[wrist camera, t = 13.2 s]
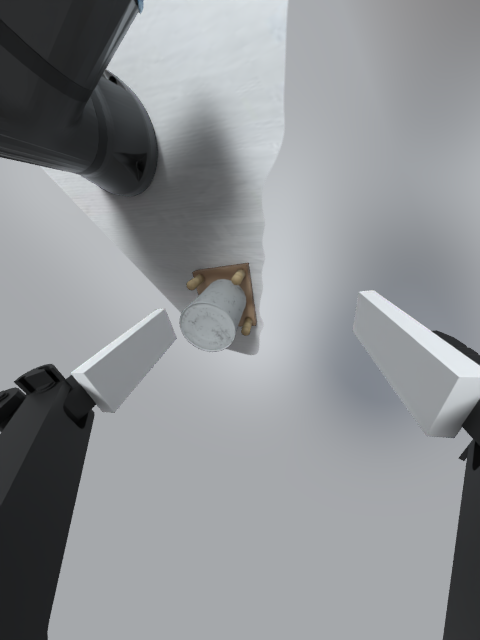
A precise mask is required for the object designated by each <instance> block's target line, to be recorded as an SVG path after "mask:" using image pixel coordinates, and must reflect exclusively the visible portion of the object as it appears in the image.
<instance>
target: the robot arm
mask: <svg viewBox="0 0 480 640" xmlns="http://www.w3.org/2000/svg"><path fill="white" fill-rule="evenodd" d="M142 10H143V0H0V157H2V158H7V159H12V160H16V161H21V162H26V163H30V164H35V165H39V166H44V167H48V168H53V169H58V170H62V171H67V172H72V173H76V174H79V175H81V176H82V177H84V178H86V179H87V180H89V181H91V182H92V183H94V184H96V185H98V186H99V187H100V188H102V189H104V190H106V191H108V192H110V193H113V194H117V195H123V196H134V195H138V194H140V193H142V192H143V191H144V190H145V189H146V188H147V187H148V186H149V185H150V183H151V181H152V179H153V177H154V174H155V170H156V165H157V144H156V138H155V133H154V130H153V126H152V123H151V121H150V118H149V116H148V114H147V112H146V110H145V108H144V106H143V104H142V103H141V101H140V100H139V98H138V97H137V96H136V94H135V93H134V92H133V91H132V90H131V89H130V88H129V87H128V86H127V85H126V84H125V83H123V82H122V81H121V80H120V79H119V78H118V77H117V76H115V75H114V74H113V73H111V72H109V71H108V70H106V68H107V66H108V64H109V62H110V60H111V59H112V57H113V55H114V53H115V52H116V50H117V48H118V46H119V45H120V43H121V41H122V39H123V38H124V36H125V34H126V32H127V31H128V29H129V27H130V25H131V24H132V22H133V20H134V18H135V17H136V15H137V13H138V12H139V13H140V14H141V12H142ZM353 332H354V334H355V335H356V336H357V338H358V339H359V341H360V342H361V344H362V345H363V347H364V348H365V349H366V351H367V352H368V354H369V355H370V357H371V358H372V359H373V361H374V362H375V364H376V365H377V366H378V368H379V369H380V371H381V372H382V374H383V375H384V376H385V377H386V379H387V381H388V382H389V384H390V385H391V386H392V388H393V389H394V391H395V392H396V394H397V395H398V397H399V398H400V399H401V401H402V402H403V404H404V405H405V407H406V408H407V409H408V411H409V412H410V414H411V415H412V417H413V418H414V419H415V421H416V422H417V424H418V425H419V426H420V428H421V429H422V431H423V432H424V433H425V435H426V436H432V437H446V438H455V436H456V435H457V434H458V432H459V431H460V429H461V428H462V427H463V428H464V429H465V430H466V431H467V433H468V434H469V435H470V436H471V437H472V438H473V440H472V441H471V443H470V444H469V445H468V446H467V448H466V449H465V450H464V452H463V453H462V454H461V456H460V457H459V459H461V460H463V461H464V460H465V459H466V458H467V463H466V470H465V477H464V485H463V492H462V500H461V507H460V515H459V523H458V530H457V537H456V545H455V553H454V560H453V567H452V575H451V583H450V590H449V597H448V605H447V612H446V620H445V627H444V635H443V640H480V355H478V353H477V352H475V351H474V350H472V349H471V348H467V346H466V345H465V344H463V343H461V342H460V341H458V340H457V339H455V338H454V337H451V336H449V335H447V334H444V333H442V332H439V331H430V330H429V329H427V328H426V327H424V326H423V325H422V324H420V323H419V322H417V321H416V320H414V319H413V318H412V317H410V316H409V315H407V314H406V313H405V312H403V311H402V310H400V309H399V308H398V307H396V306H395V305H394V304H392V303H391V302H389V301H388V300H386V299H385V298H384V297H382V296H380V295H379V294H378V293H377V292H375V291H374V290H372V291H361V292H359V293H358V299H357V306H356V313H355V320H354V326H353ZM176 339H177V338H176V335H175V333H174V330H173V328H172V325H171V323H170V320H169V318H168V315H167V313H166V310H165V309H156V310H155V311H153V312H152V313H151V314H149V315H148V316H147V317H145V318H144V319H143V320H141V321H140V322H138V323H137V324H136V325H134V326H133V327H132V328H130V329H129V330H128V331H126V332H125V333H124V334H122V335H121V336H120V337H118V338H117V339H116V340H114V341H113V342H112V343H110V344H109V345H107V346H106V347H105V348H104V349H102V350H101V351H99V352H98V353H97V354H95V355H94V356H93V357H91V358H90V359H89V360H87V361H86V362H85V363H83V364H82V365H81V366H79V367H78V368H76V369H75V370H74V371H72V372H71V374H72V375H71V376H70V377H68V378H67V379H65V378H64V377H63V376H62V374H61V373H60V372H59V371H58V370H57V369H56V367H55V366H54V365H52V364H47V365H43V366H40V367H37V368H36V369H33V370H31V371H29V372H27V373H25V374H24V375H22V376H20V377H19V378H18V379H17V380H16V381H14V382H15V383H16V384H17V385H18V386H19V387H20V388H21V389H22V390H23V391H24V392H25V393H26V395H25V394H24V393H23V392H22V391H21V390H19V389H18V388H11V389H8V390H5V391H1V392H0V432H1V434H0V640H48V636H47V631H48V624H49V619H50V614H51V610H52V605H53V601H54V596H55V592H56V587H57V583H58V578H59V573H60V569H61V564H62V560H63V555H64V551H65V546H66V542H67V537H68V533H69V528H70V524H71V519H72V515H73V510H74V506H75V501H76V497H77V492H78V487H79V483H80V478H81V474H82V469H83V465H84V460H85V456H86V451H87V446H88V442H89V437H90V433H91V429H92V424H93V419H94V412H93V411H92V408H93V407H94V406H95V405H97V406H98V407H99V408H100V409H101V411H102V412H111V413H115V411H116V410H117V409H118V408H119V407H120V405H121V404H122V403H123V402H124V401H125V399H126V398H127V397H128V396H129V395H130V393H131V392H132V391H133V390H134V389H135V388H136V386H137V385H138V384H139V383H140V382H141V380H142V379H143V378H144V377H145V376H146V374H147V373H148V372H149V371H150V369H151V368H152V367H153V366H154V365H155V364H156V363H157V361H158V360H159V358H161V357H162V355H163V354H164V353H165V352H166V351H167V349H168V348H169V347H170V346H171V345H172V343H173V342H174V341H175V340H176Z"/></svg>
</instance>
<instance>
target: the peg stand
mask: <svg viewBox="0 0 480 640" xmlns="http://www.w3.org/2000/svg"><path fill="white" fill-rule="evenodd" d="M192 274H193V277H194V278H193V279H191V280H190V281H188V282H187V284H186V285H187V288H188V289H189V290H194V289H195V288H197V291H198V294H199V295H200V294H201V293H202V292H203V291H204V290H205V289H206V288H207V287H208V286H209V285H210V284H211V283H212V282H214V281H216V280H220V279H226V280H230V281H232V283H233V284H234V285H239V286H240V287H241V288H242V290H243V291H244V294H245V296H246V306H245V309H244V311H243V314H242V316H241V319H240V322H239V325H238V326H243V327H242V330H241V333H242V334H243V335H245V336H247V335H249V334H250V329H251V326H256V322H257V321H256V314H255V306H254V299H253V292H252V285H251V278H250V270H249V263H244V264H237V265H229V266H222V267H215V268H208V269H200V270H195V271H194V272H192Z"/></svg>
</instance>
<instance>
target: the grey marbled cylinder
mask: <svg viewBox="0 0 480 640" xmlns="http://www.w3.org/2000/svg"><path fill="white" fill-rule="evenodd" d="M245 306H246V296H245V294H244V291H243V290H242V288H241V287H240V286H239V285H234V284H233V283H232V281H230V280H226V279H220V280H216V281H214V282H212V283H211V284H210V285H209V286H208V287H207V288H206V289H205V290H204V291H203V292H202V293H201V294H200V295H199V296H198V297H197V298H196V299H195V300H194V301H193V302H192V303H191V304H190V305H189V306H187V307H186V308H185V309H184V310H183V312H182V314H181V316H180V328H181V331H182V333H183V335H184V337H185V338H186V339H187V340H188V341H189V342H190V343H191V344H192V345H193V346H195V347H197V348H198V349H201V350H204V351H209V352H217V351H221V350H224V349H226V348H227V347H229V346H230V345H231V343H232V342H233V340H234V338H235V333H236V330H237V328H238V325H239V322H240V319H241V316H242V314H243V311H244V309H245Z"/></svg>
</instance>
